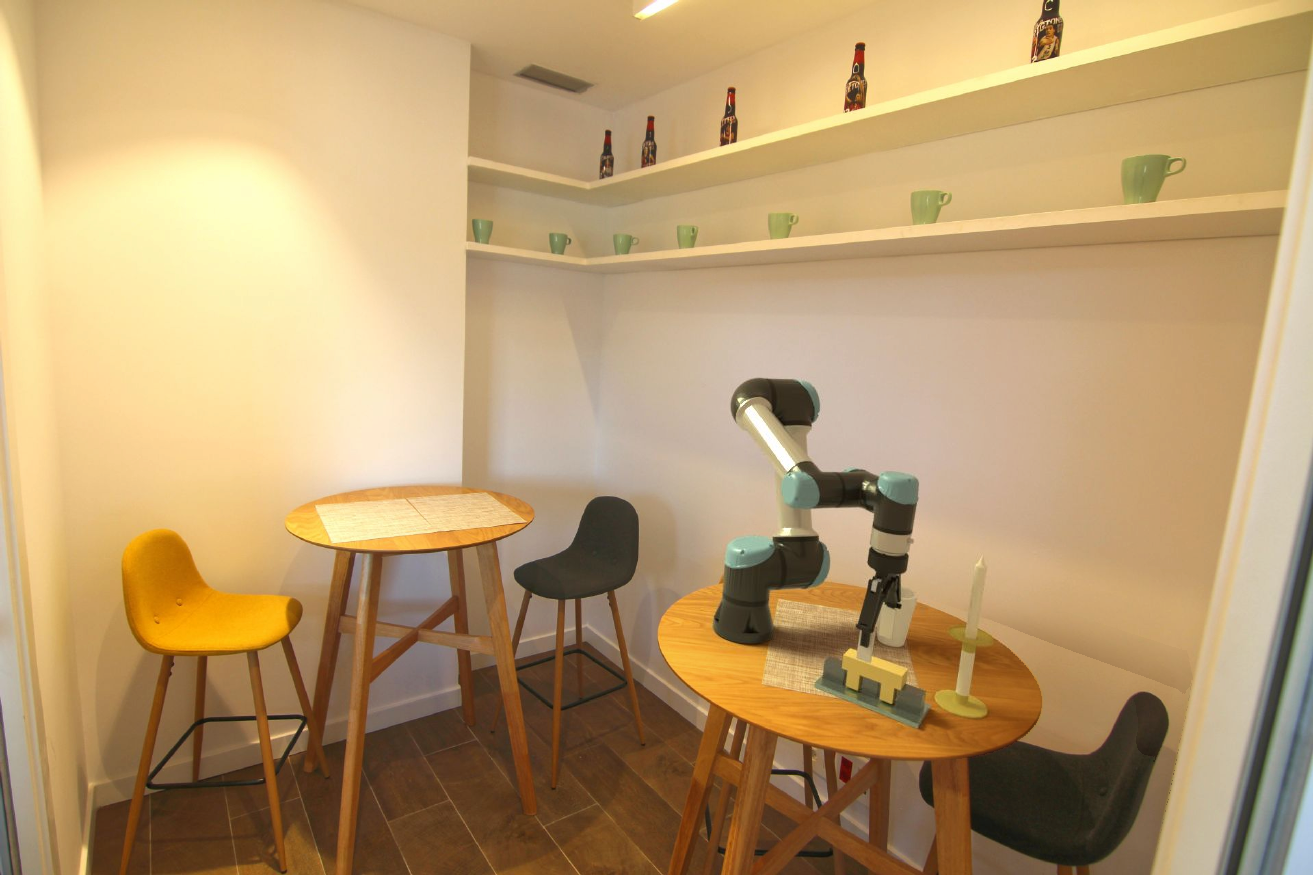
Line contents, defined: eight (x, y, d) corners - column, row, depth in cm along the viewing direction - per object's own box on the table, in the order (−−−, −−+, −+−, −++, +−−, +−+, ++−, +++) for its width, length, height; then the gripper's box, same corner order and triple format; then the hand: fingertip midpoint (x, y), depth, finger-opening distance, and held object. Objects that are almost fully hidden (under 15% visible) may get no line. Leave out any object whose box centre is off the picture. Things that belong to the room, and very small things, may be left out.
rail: (814, 686, 130) (816, 664, 130) (830, 670, 137) (832, 649, 137) (917, 728, 118) (920, 704, 117) (929, 708, 125) (932, 685, 124)
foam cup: (914, 652, 149) (920, 601, 147) (874, 646, 151) (880, 596, 149) (906, 635, 158) (912, 586, 156) (868, 629, 160) (874, 582, 158)
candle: (963, 722, 121) (987, 564, 116) (923, 695, 130) (944, 547, 125) (999, 713, 125) (1023, 560, 120) (957, 687, 134) (978, 544, 129)
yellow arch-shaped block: (839, 683, 129) (843, 654, 128) (846, 676, 133) (850, 648, 132) (898, 706, 122) (902, 676, 121) (904, 698, 125) (908, 668, 124)
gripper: (888, 571, 111) (873, 679, 114) (925, 540, 130) (911, 633, 134) (848, 559, 115) (834, 663, 119) (889, 531, 135) (876, 621, 139)
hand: (874, 647), depth 127 cm, fingers open, 13 cm apart
